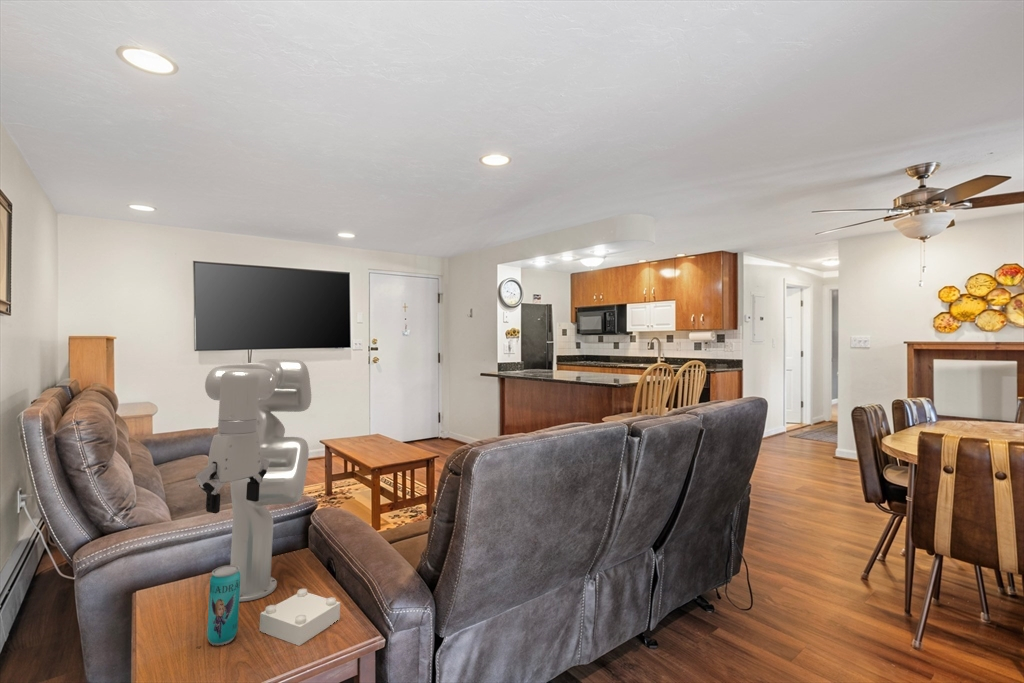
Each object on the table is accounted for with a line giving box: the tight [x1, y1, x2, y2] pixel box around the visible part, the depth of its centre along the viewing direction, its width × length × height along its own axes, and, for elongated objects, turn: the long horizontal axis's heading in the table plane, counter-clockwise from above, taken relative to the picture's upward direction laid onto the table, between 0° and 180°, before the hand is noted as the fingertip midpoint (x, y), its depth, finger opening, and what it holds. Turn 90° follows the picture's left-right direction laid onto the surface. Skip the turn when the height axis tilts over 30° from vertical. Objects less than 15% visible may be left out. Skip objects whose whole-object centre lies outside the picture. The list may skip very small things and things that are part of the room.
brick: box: [258, 588, 341, 647], centre depth 116 cm, size 12×12×5 cm
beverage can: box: [206, 564, 241, 646], centre depth 109 cm, size 6×6×15 cm
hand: (233, 506), depth 110 cm, fingers open, 9 cm apart
